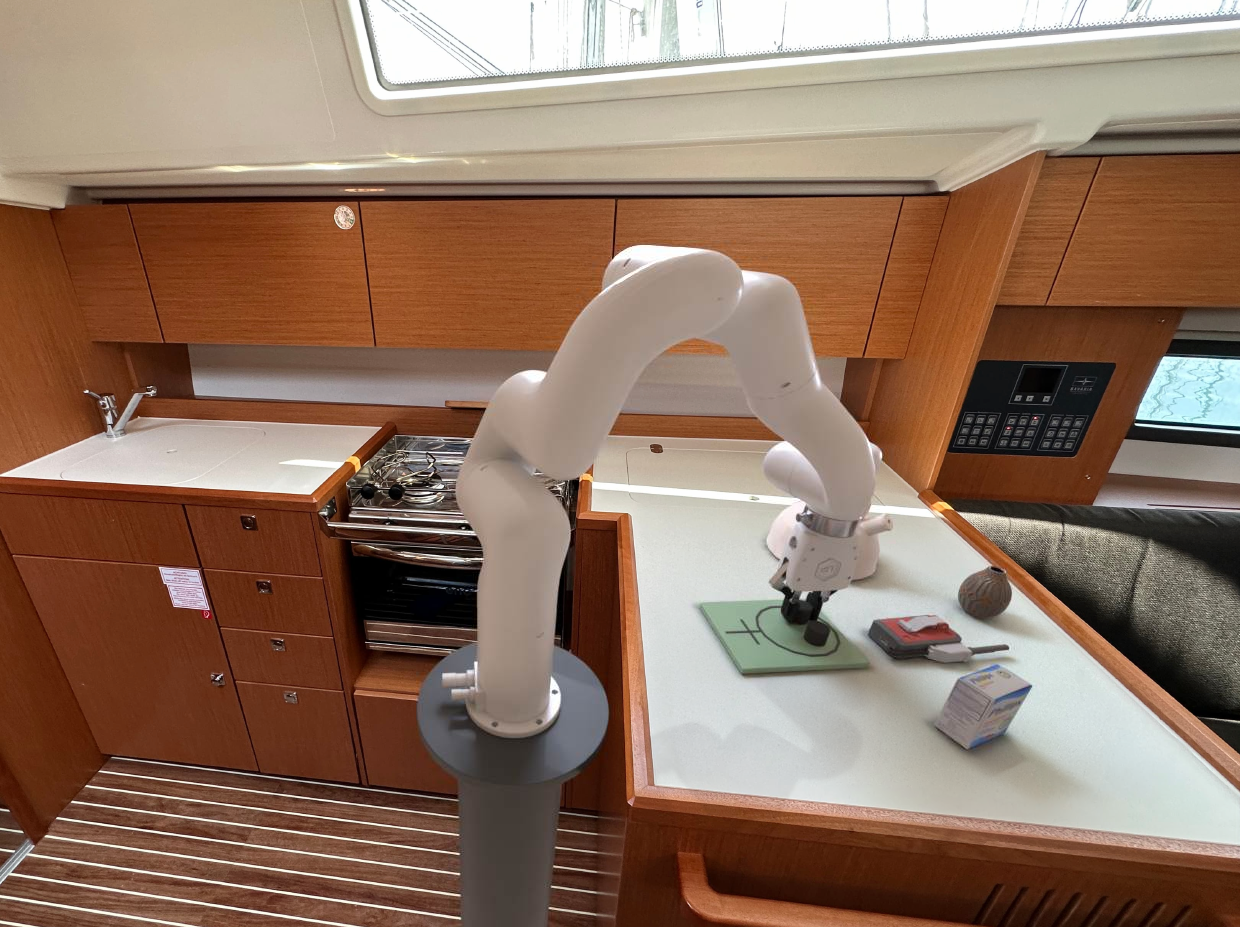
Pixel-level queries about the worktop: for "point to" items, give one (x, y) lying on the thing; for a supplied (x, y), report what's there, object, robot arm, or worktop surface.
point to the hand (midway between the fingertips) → (798, 617)
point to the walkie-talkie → (924, 639)
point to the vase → (985, 593)
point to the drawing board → (776, 639)
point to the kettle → (866, 528)
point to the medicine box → (982, 705)
